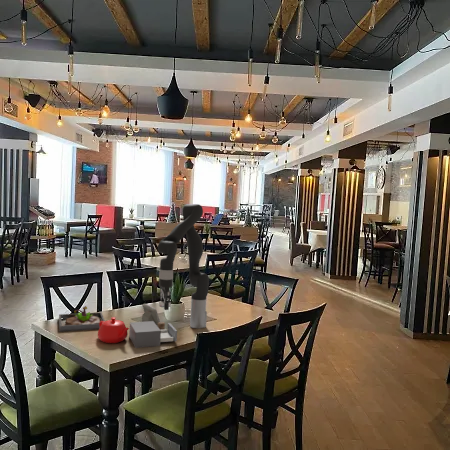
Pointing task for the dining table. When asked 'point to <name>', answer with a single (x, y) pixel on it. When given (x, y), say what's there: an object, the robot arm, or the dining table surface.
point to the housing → (144, 334)
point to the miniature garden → (82, 318)
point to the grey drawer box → (168, 334)
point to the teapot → (112, 331)
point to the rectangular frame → (79, 327)
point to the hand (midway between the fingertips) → (164, 308)
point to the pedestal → (161, 325)
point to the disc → (163, 304)
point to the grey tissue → (150, 314)
